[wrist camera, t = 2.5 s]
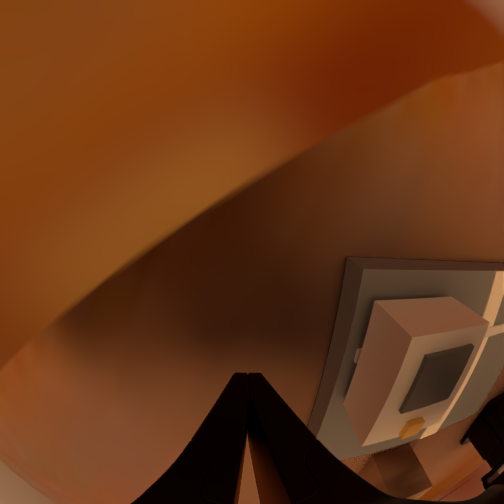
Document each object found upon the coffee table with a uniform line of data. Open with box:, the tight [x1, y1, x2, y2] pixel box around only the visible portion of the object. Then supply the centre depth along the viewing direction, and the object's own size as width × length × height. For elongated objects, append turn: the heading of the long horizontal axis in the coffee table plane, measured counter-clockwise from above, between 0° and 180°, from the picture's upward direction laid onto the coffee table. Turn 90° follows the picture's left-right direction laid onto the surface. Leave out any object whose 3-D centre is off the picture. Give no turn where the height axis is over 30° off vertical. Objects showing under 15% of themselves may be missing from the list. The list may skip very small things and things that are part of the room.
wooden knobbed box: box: [358, 444, 433, 500], centre depth 12 cm, size 4×4×6 cm
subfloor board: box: [307, 257, 504, 460], centre depth 11 cm, size 15×12×2 cm
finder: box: [343, 296, 490, 446], centre depth 8 cm, size 4×5×3 cm
